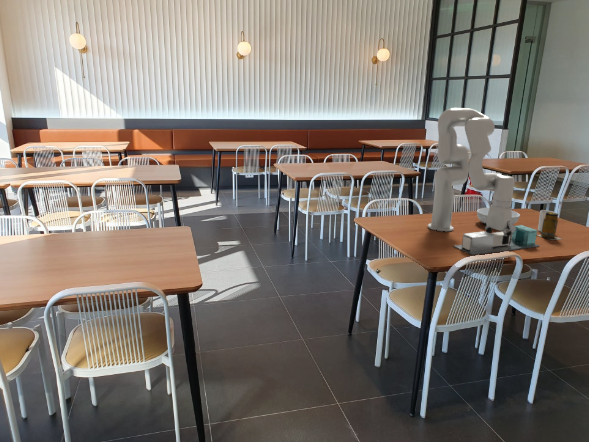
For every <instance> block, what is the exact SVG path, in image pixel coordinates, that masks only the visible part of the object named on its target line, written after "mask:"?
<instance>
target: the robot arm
mask: <svg viewBox="0 0 589 442" xmlns="http://www.w3.org/2000/svg"><path fill="white" fill-rule="evenodd" d="M495 126H496V125H495V123H494V121H493V120H492V118H490V117H489V116H487V115H485V114H484V113H481V112H479V111H478V110H476V109H474V108H469V107H467V108H466V107H465V108H463V107H451V108H448V109H445V110H444V111H443V112H442V113H441V114H440V115H439V117H438V120H437V132H438V133H437V134H438V142H437V144H438V145H437V146H438V147H437V160H438V161H439V163H440V164H442V165H451V166H444V167H440V168H438V169H437V170H436V171H435V173H434V176H433V177H434V178H433V180H434V195H433V202H432V203H433V207H432V212H431V213H432V215H431V223H428V224H427V227H428V229H430V230H432V231H436V230H437V231H438V232H443V231H445V232H447V233H448V232H452V231H454V226H452V220H453V219H452V217H453V208H454V202H455V201H454V200H455V191H454V188H453V186H459V185H464V184H465V183H466V182H467V180H468V177H469V180H470V183H471V185H472V187H473V189H474V190H476V191H480V192H482V191H489V190H492V191H493V197H492V199H491V202H492V204H491V205H490V206H489V208H490V209H489V212H488V215H487V218H484V219H483V221H484V223H483V225H484V227H485V228H484V229H485V232H488V233H493V230H495V231H498V232H503V233H504V236H503V239H502V244H503V245H505V244H508V242H509V236H511V234H513V233H514V231H515V230H516V228H515V227H514V226H515V225H514V224H513V225H512V224H511V220H512V211H513V210H512V201H513V194H514V190H515V189H514V188H515V183H516V182H515V181H516V180H515V177H513V176H510V175H502V174H500V173H497V172H486V173H485V172H484V168H483V161H484V158H485V156H486V155H488V154H489V153H490V152H491V150H492V146H491V143H490V139H489V136H491V135H492V134H493V133H494V132H495V128H496V127H495ZM455 127H464V132H465V135H466V139H467V142H468V146H469V149H468V148H467V147H466V146H465V145H463V144H459V143H458V141H457V139H458V137H457V131H456V129H455ZM469 150H470V154H471V155H470V154H469ZM437 231H436V232H437ZM506 232H507V233H506Z"/></svg>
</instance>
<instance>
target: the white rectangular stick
mask: <svg viewBox="0 0 589 442" xmlns="http://www.w3.org/2000/svg"><path fill="white" fill-rule="evenodd" d="M506 233H507V231H506ZM490 234H493V235H494V241H493V247H495V246H503V244H502V239H503V236H504V233H503V231H496V232H492V233H490ZM511 238H512V234H511V236H509V242H508V244H505V245H510V244H511ZM462 241H463V246H462V247H463V248H465V249H468V250H470V248H471V241H472V238H469V237H467V236H464V238H463V237H462Z"/></svg>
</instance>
